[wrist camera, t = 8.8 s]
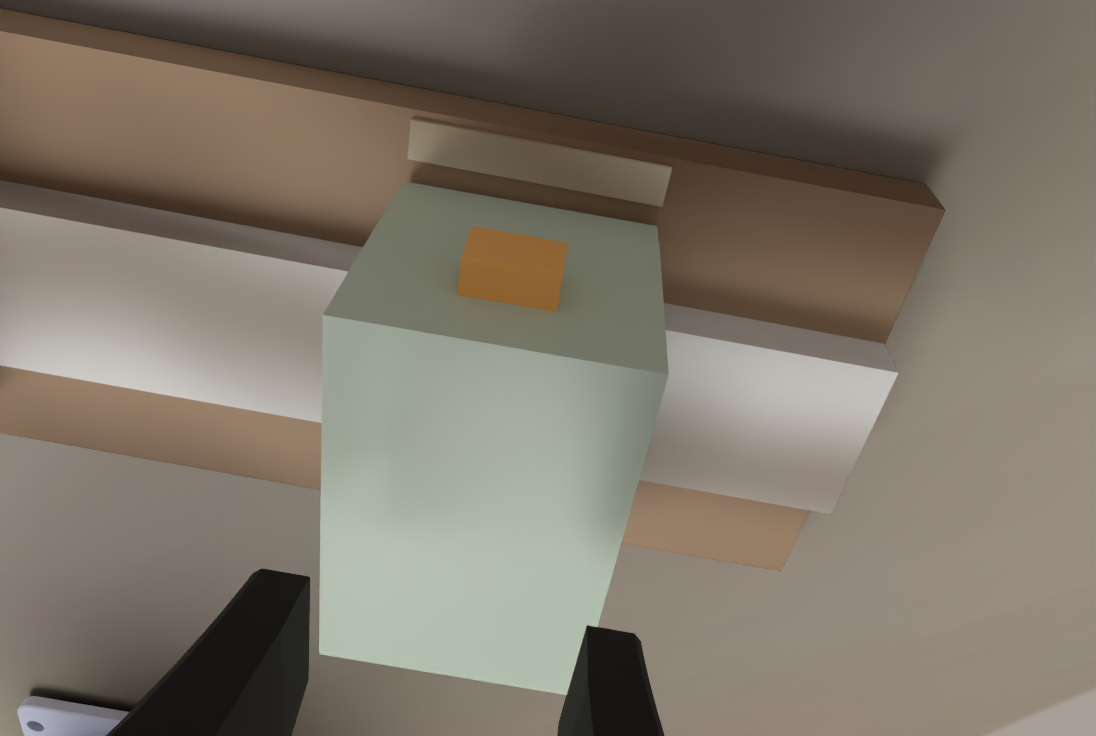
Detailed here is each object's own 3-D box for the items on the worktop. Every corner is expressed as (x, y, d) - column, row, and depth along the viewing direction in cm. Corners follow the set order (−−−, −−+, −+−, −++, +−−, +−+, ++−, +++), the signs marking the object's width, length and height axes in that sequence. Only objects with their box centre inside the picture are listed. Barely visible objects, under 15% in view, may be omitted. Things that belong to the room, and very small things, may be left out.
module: (588, 506, 19) (577, 696, 15) (385, 472, 19) (319, 654, 15) (665, 191, 15) (679, 336, 11) (406, 145, 15) (322, 273, 11)
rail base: (773, 534, 21) (822, 776, 16) (-231, 355, 20) (-528, 546, 15) (925, 184, 16) (1070, 370, 11) (-402, -68, 15) (-934, -2, 10)
